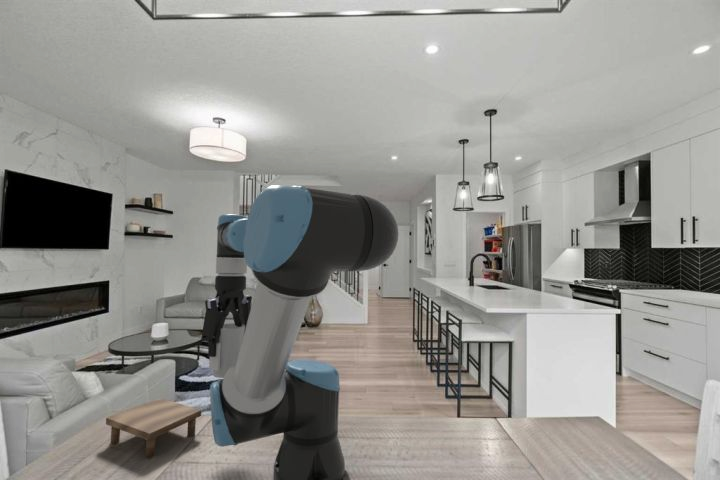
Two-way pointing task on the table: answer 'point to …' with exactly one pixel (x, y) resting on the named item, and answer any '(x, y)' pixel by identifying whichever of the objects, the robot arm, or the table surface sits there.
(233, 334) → the cup
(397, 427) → the table surface
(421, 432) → the table surface
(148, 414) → the low wooden table
